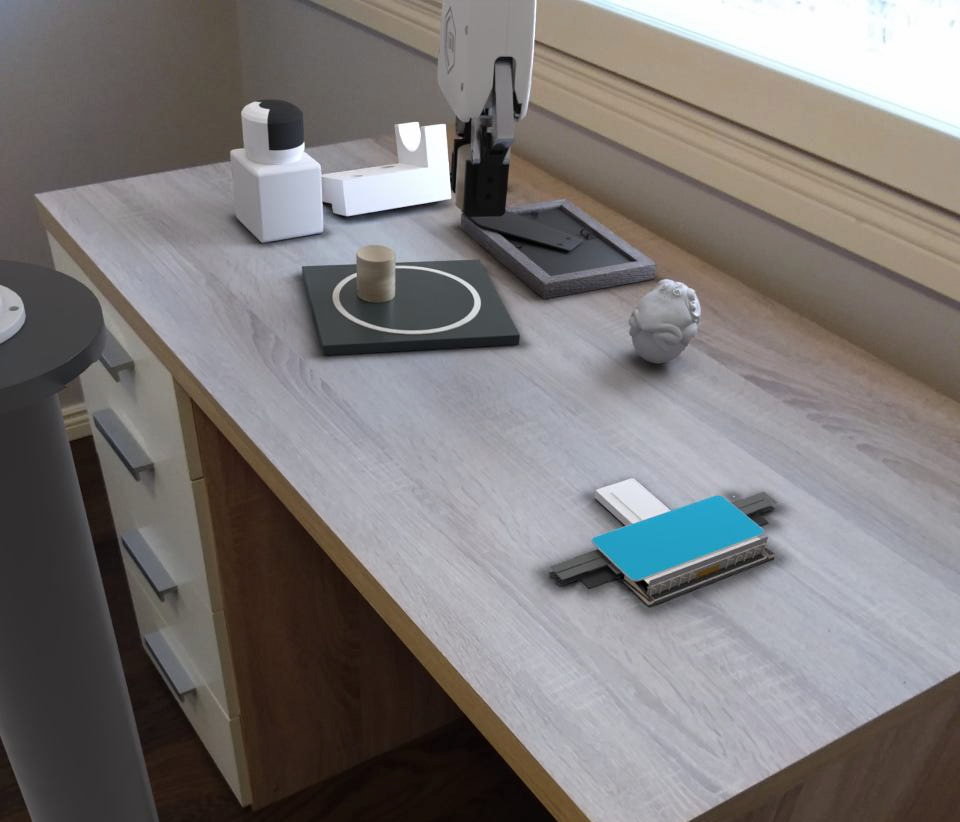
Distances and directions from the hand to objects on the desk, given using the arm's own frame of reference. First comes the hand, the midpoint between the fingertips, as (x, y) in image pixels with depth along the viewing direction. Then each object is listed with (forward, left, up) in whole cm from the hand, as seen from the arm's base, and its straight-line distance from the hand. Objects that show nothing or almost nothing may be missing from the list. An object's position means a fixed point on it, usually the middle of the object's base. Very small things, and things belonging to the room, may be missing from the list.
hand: (477, 201), depth 82 cm
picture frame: (+15, +24, -15) cm, 32 cm away
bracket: (-1, +39, -15) cm, 42 cm away
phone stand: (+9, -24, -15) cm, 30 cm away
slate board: (-3, +13, -15) cm, 20 cm away
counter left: (-6, +14, -14) cm, 20 cm away
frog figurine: (+18, +1, -15) cm, 24 cm away
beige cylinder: (0, 0, 0) cm, 0 cm away
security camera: (-13, +33, -15) cm, 38 cm away
